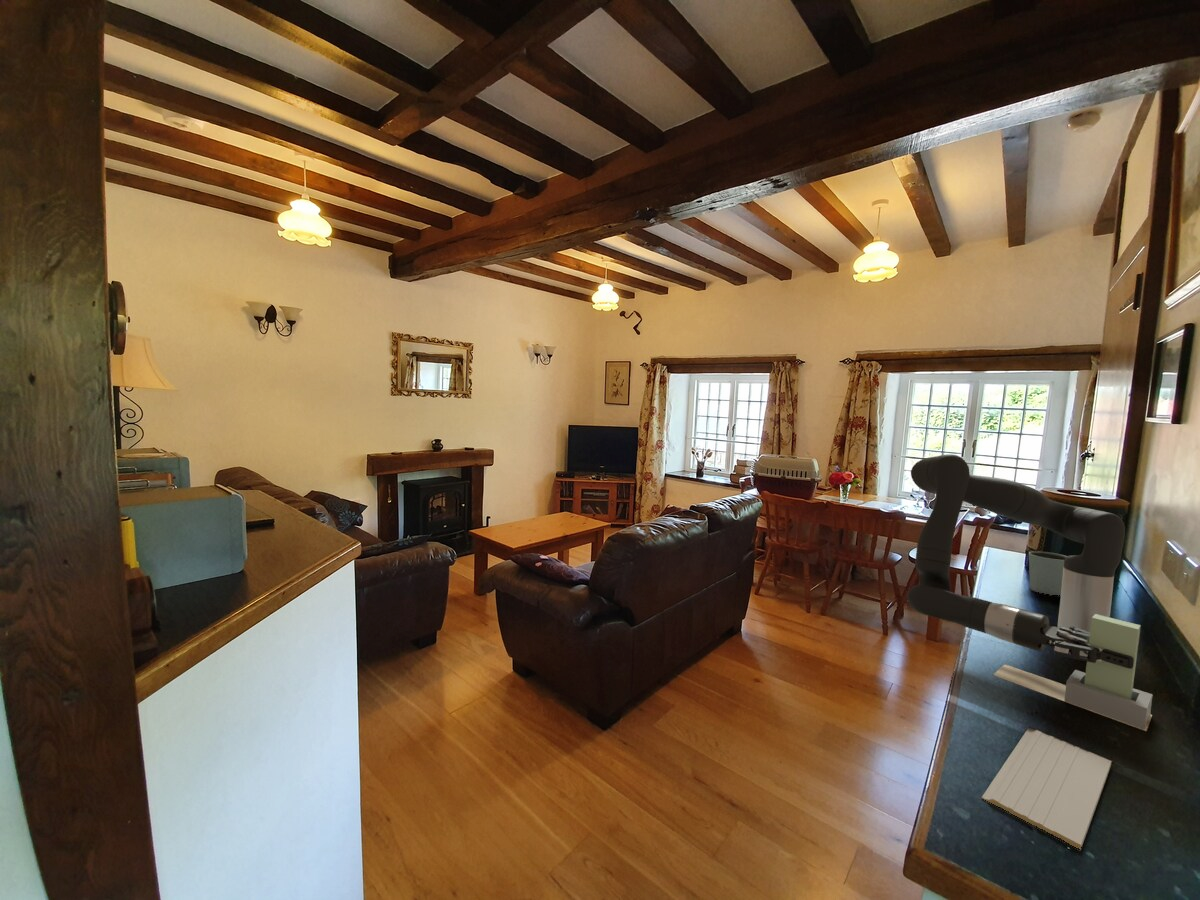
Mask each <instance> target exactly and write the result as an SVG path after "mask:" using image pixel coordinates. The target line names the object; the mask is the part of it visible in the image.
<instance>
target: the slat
mask: <svg viewBox="0 0 1200 900" xmlns="http://www.w3.org/2000/svg"><path fill="white" fill-rule="evenodd" d="M1140 633H1141V624H1136V623H1133V622H1129V621H1124V620H1120V619H1116V618H1114V617H1113V618H1112V617H1110V618H1109V617H1105V616H1102V615H1098V614H1095V615H1094V616H1093V617H1092V621H1091V630H1090V639H1089V644H1092V645H1096V646H1099V647H1102V648H1104V651H1105V649H1108V650H1111V651H1115V652H1118V653H1122V654H1125V655H1129V656H1132V657H1133V658H1134V664H1133V668H1131V669H1129V668H1125V667H1122V666H1119V665H1115V664H1112V663H1109V662H1106V661H1104V660H1103V661H1102V662H1100V661H1096V663H1092V662H1087V661H1086V666H1085V673H1086V674H1085V682H1084V684H1085V685H1088V686H1091V687H1094V688H1097V689H1100V690H1103V691H1106V692H1109V693H1112V694H1115V695H1118V696H1121V697H1124V698H1127V699H1130V700H1131V699H1132V691H1133V688H1134V683H1135V673H1136V667H1137V658H1138V651H1139V642H1140Z"/></svg>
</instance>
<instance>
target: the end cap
mask: <svg viewBox="0 0 1200 900" xmlns="http://www.w3.org/2000/svg"><path fill="white" fill-rule="evenodd" d="M1085 674H1086V672H1084V671H1080V670H1078V669H1075V670H1074V671H1073V672H1072V674H1070V676H1069V677H1068V679H1067V680H1066V684H1065V685H1066V692H1065V701H1067V702H1070V703H1072V704H1071V705H1073V704H1075V705H1074V706H1076V705H1078V706H1081V707H1083V708H1082V709H1084V708H1086V709H1085V710H1087V709H1089V710H1092V711H1094V712H1093V713H1095V712H1097V713H1096V714H1098V713H1100V714H1103V715H1105V716H1104V717H1106V716H1108V717H1107V718H1109V717H1111V718H1114V719H1116V720H1115V721H1117V720H1119V721H1118V722H1120V721H1122V722H1125V723H1127V724H1126V725H1128V724H1130V725H1129V726H1131V725H1133V726H1136V727H1138V728H1137V729H1139V728H1141V729H1140V730H1142V729H1144V730H1145V727H1146V724H1147V722H1148V719H1149V717H1150V714H1151V710H1152V703H1153V696H1154V695H1153V694H1152V693H1149V692H1146V691H1142V690H1140V689H1136V688H1134V687H1133V691H1132V699H1131V700H1130V699H1127V698H1124V697H1121V696H1118V695H1115V694H1112V693H1109V692H1106V691H1103V690H1100V689H1097V688H1094V687H1091V686H1088V685H1085V684H1084V682H1085ZM1065 701H1064V702H1065ZM1067 702H1066V703H1067ZM1070 703H1069V704H1070ZM1078 706H1077V707H1078ZM1081 707H1080V708H1081ZM1089 710H1088V711H1089ZM1092 711H1091V712H1092ZM1100 714H1099V715H1100ZM1103 715H1102V716H1103ZM1111 718H1110V719H1111ZM1114 719H1113V720H1114ZM1122 722H1121V723H1122ZM1125 723H1124V724H1125ZM1133 726H1132V727H1133ZM1136 727H1135V728H1136ZM1144 730H1143V731H1144Z"/></svg>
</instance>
